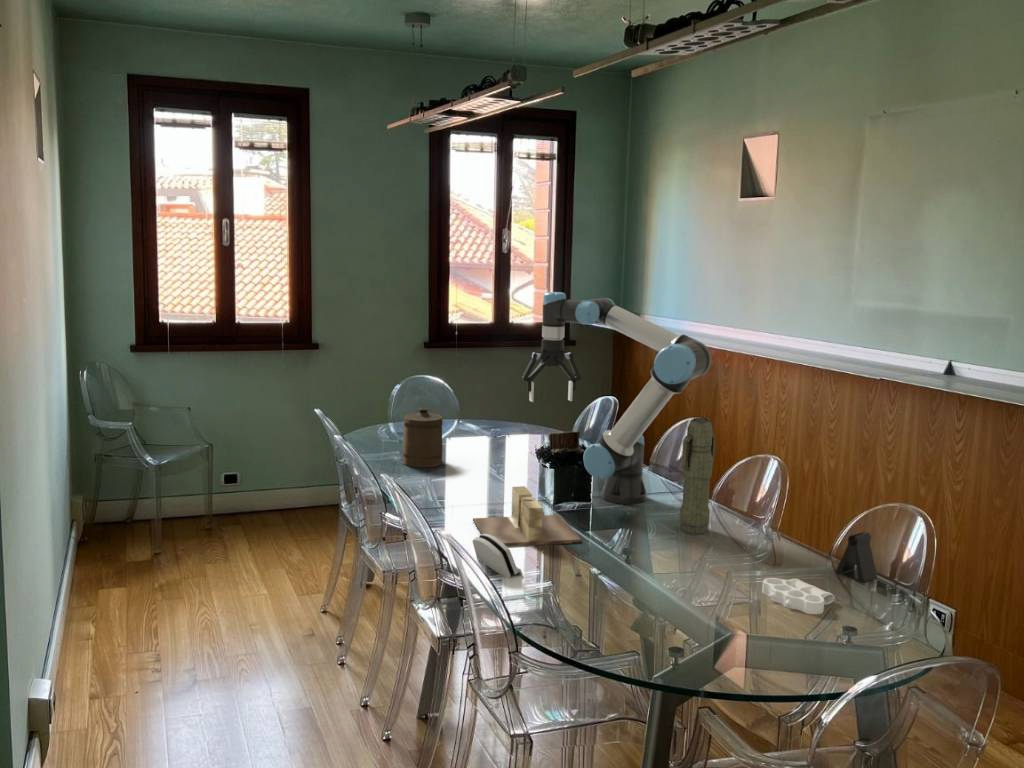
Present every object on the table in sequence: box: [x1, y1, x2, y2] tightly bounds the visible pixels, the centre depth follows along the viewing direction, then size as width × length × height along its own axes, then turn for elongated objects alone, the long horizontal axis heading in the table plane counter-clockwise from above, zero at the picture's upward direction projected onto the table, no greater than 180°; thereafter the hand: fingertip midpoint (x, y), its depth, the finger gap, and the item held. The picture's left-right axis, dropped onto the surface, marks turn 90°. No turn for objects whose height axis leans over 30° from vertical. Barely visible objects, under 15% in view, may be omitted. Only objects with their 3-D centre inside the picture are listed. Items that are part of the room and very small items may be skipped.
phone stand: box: [835, 531, 878, 584], centre depth 263 cm, size 9×6×12 cm, turn 36°
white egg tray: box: [761, 577, 836, 615], centre depth 246 cm, size 3×18×15 cm
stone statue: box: [679, 417, 716, 536], centre depth 296 cm, size 9×12×35 cm
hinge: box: [472, 534, 523, 579], centre depth 262 cm, size 17×5×10 cm, turn 31°
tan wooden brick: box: [510, 485, 533, 527], centre depth 298 cm, size 4×9×10 cm, turn 13°
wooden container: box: [402, 405, 443, 469], centre depth 369 cm, size 15×15×22 cm
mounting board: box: [472, 496, 582, 547], centre depth 292 cm, size 28×24×11 cm
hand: (550, 400), depth 328 cm, fingers open, 13 cm apart
